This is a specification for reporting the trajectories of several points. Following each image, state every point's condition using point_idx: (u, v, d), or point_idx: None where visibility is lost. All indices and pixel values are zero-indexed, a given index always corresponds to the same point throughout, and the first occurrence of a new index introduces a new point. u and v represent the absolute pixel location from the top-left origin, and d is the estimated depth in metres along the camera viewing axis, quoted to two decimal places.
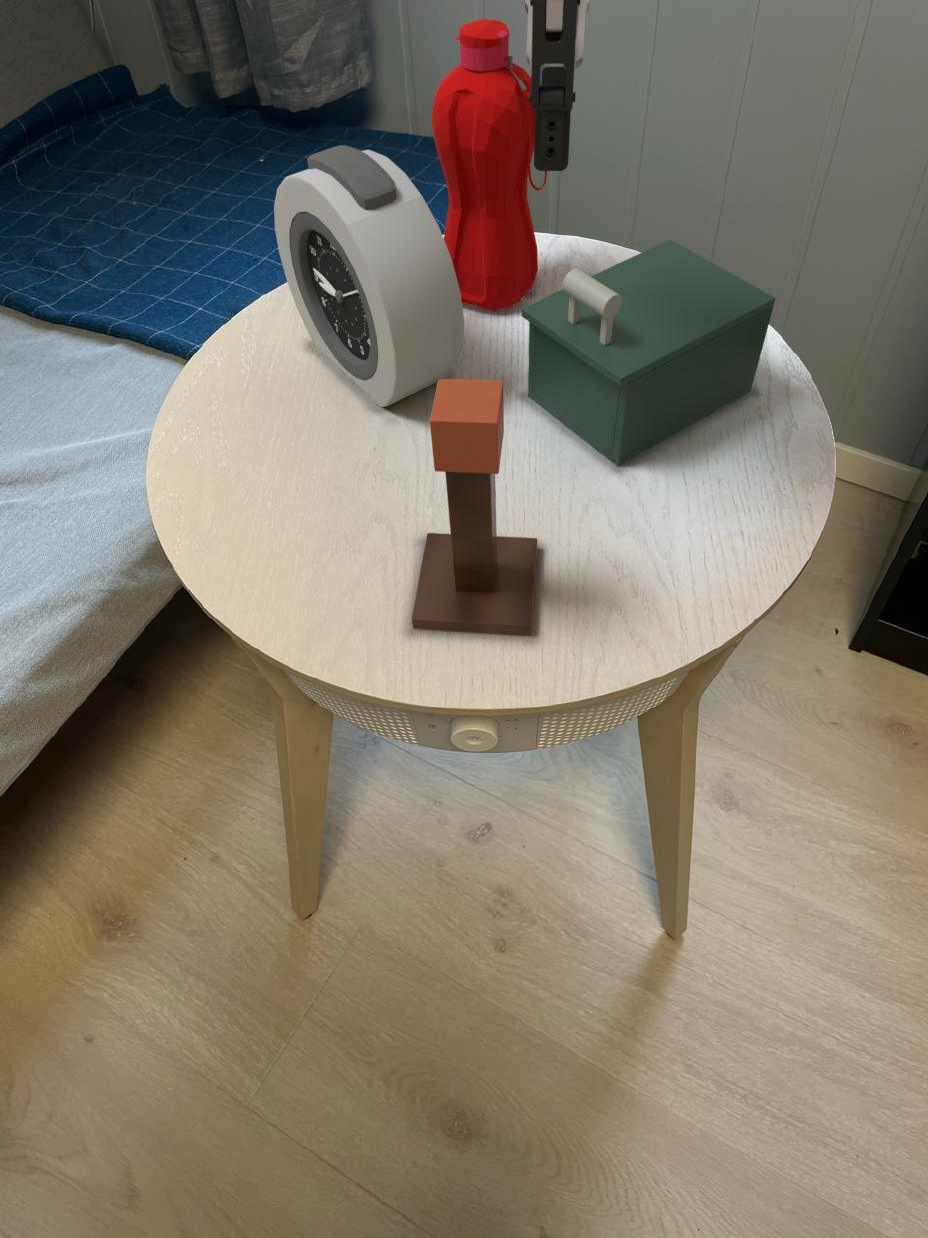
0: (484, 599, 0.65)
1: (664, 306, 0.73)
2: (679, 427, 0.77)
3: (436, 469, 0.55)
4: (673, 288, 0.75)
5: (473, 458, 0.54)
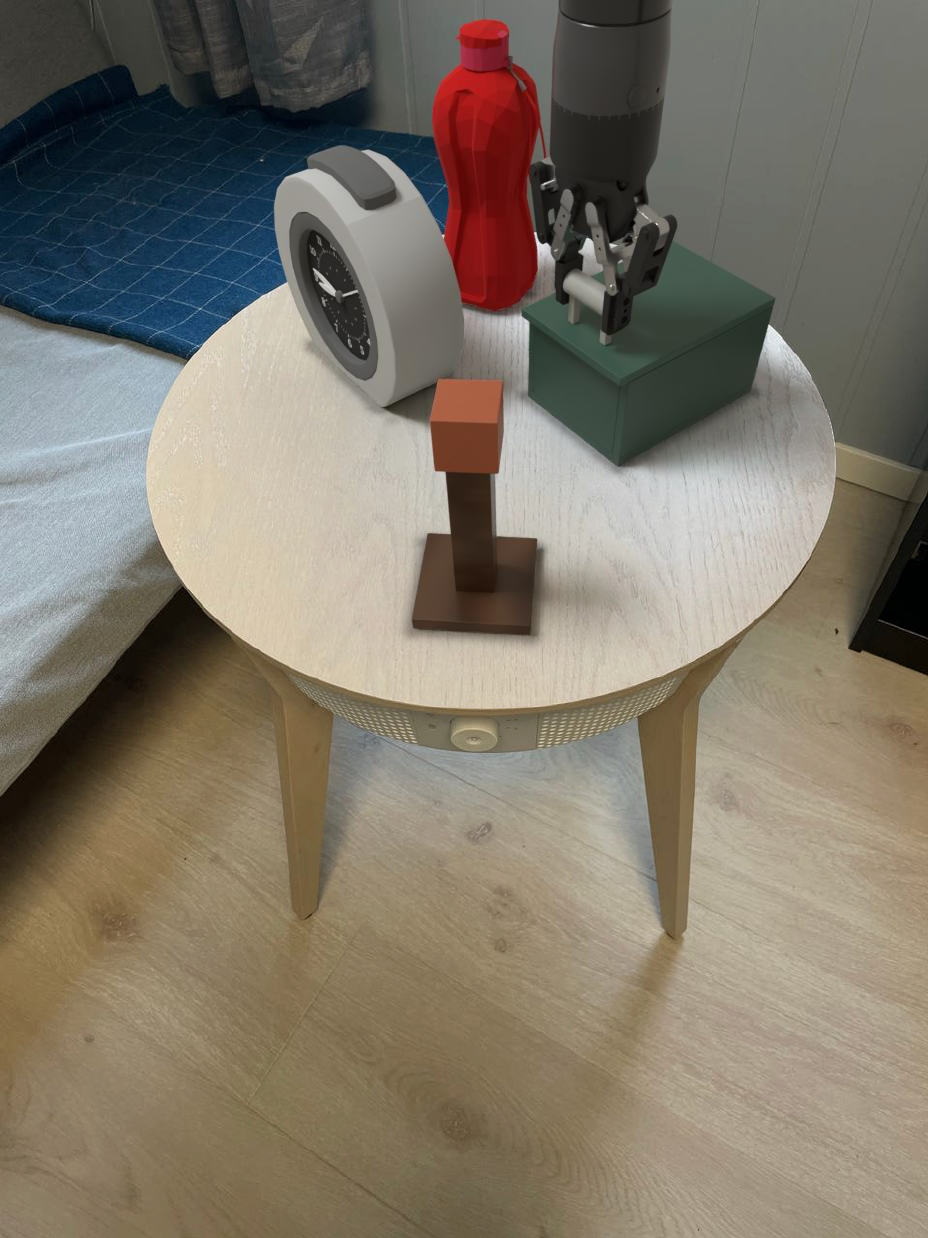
0: (484, 599, 0.65)
1: (664, 306, 0.73)
2: (679, 427, 0.77)
3: (436, 469, 0.55)
4: (673, 288, 0.75)
5: (473, 458, 0.54)
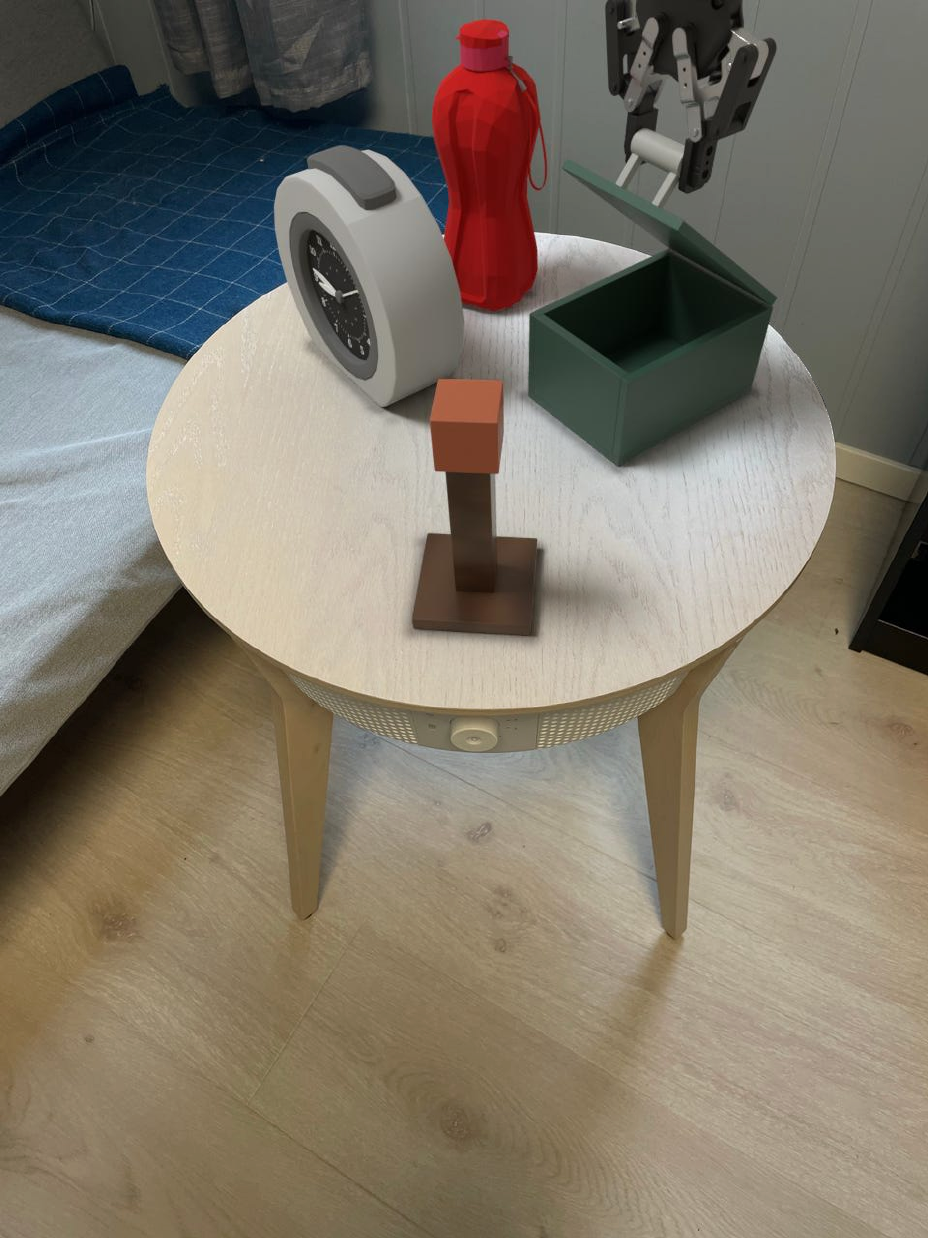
0: (484, 599, 0.65)
1: None
2: (679, 427, 0.77)
3: (436, 469, 0.55)
4: None
5: (473, 458, 0.54)
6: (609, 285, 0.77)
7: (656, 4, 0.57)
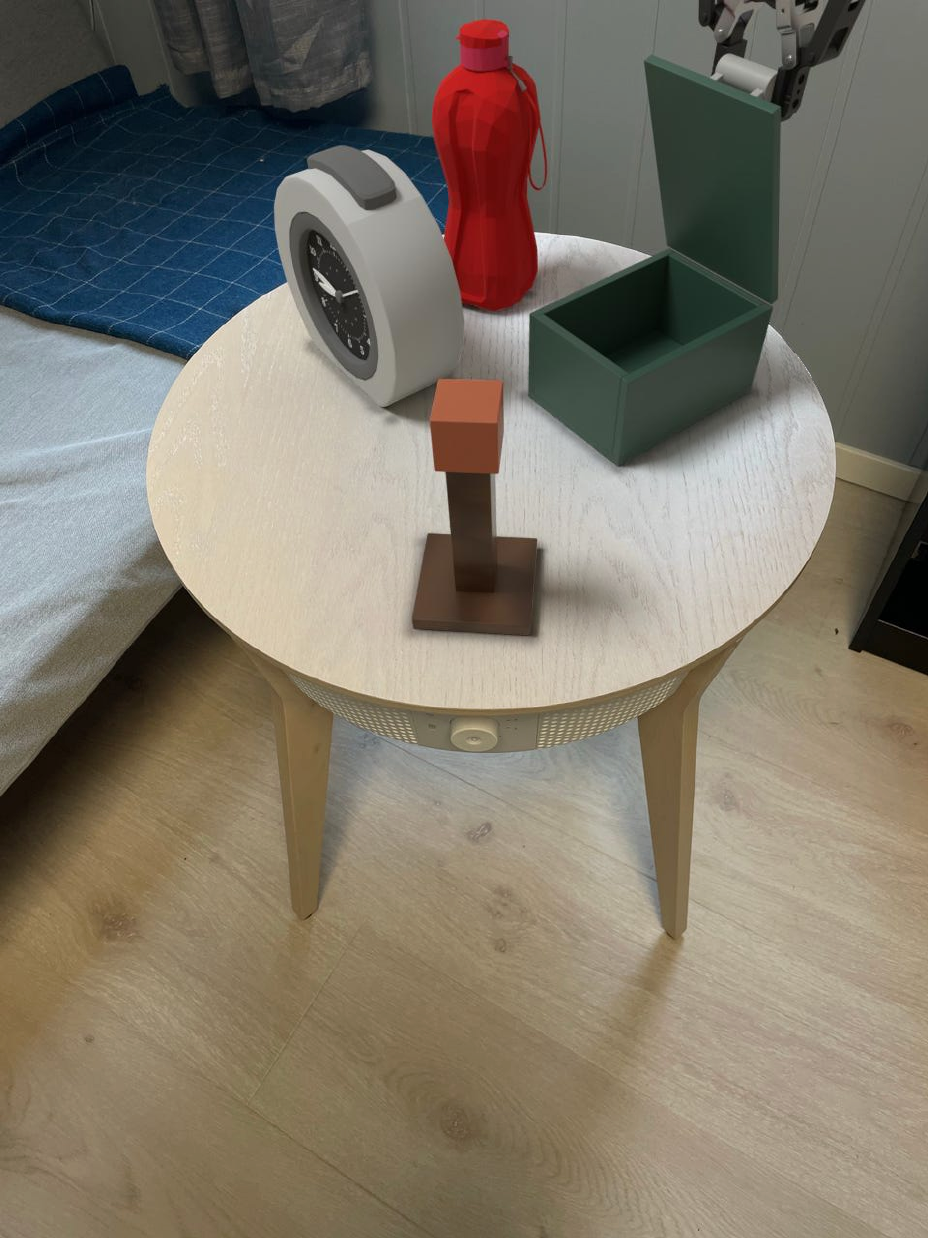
0: (484, 599, 0.65)
1: None
2: (679, 427, 0.77)
3: (436, 469, 0.55)
4: None
5: (473, 458, 0.54)
6: (609, 285, 0.77)
7: None
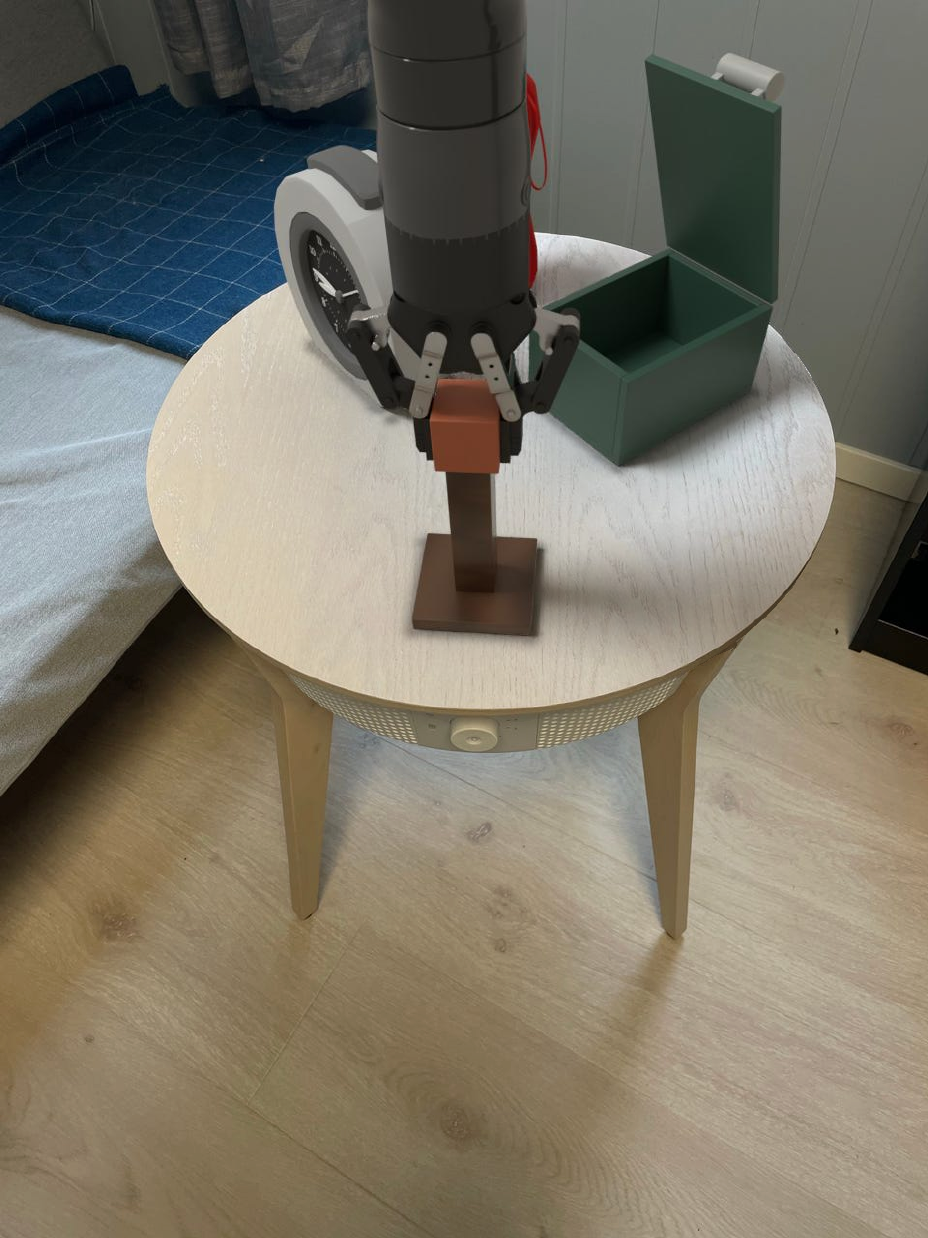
0: (484, 599, 0.65)
1: None
2: (679, 427, 0.77)
3: (436, 469, 0.55)
4: None
5: (473, 458, 0.54)
6: (609, 285, 0.77)
7: (425, 315, 0.47)
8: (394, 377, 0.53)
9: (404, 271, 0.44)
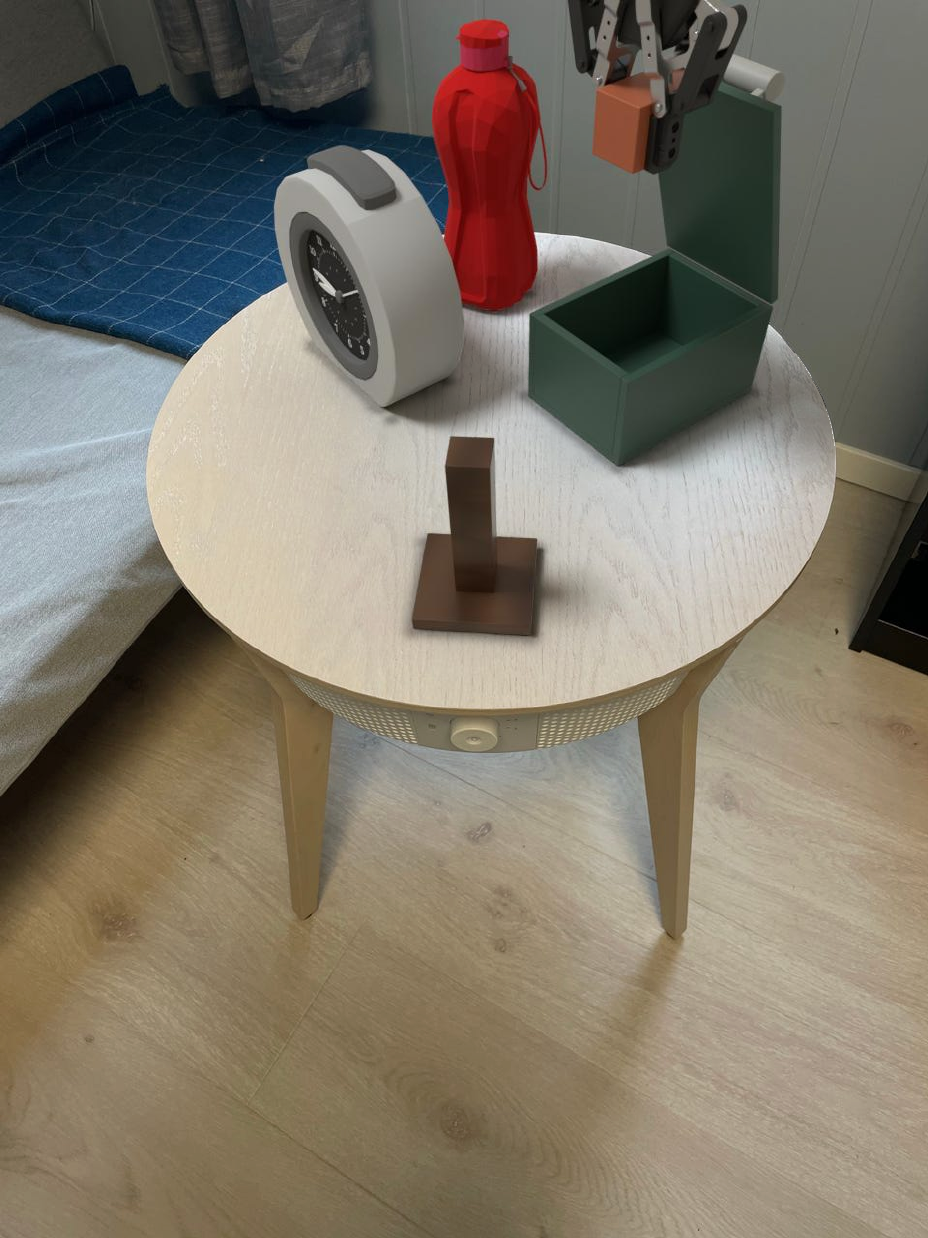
0: (484, 599, 0.65)
1: None
2: (679, 427, 0.77)
3: (593, 151, 0.60)
4: None
5: (618, 147, 0.58)
6: (609, 285, 0.77)
7: None
8: None
9: None
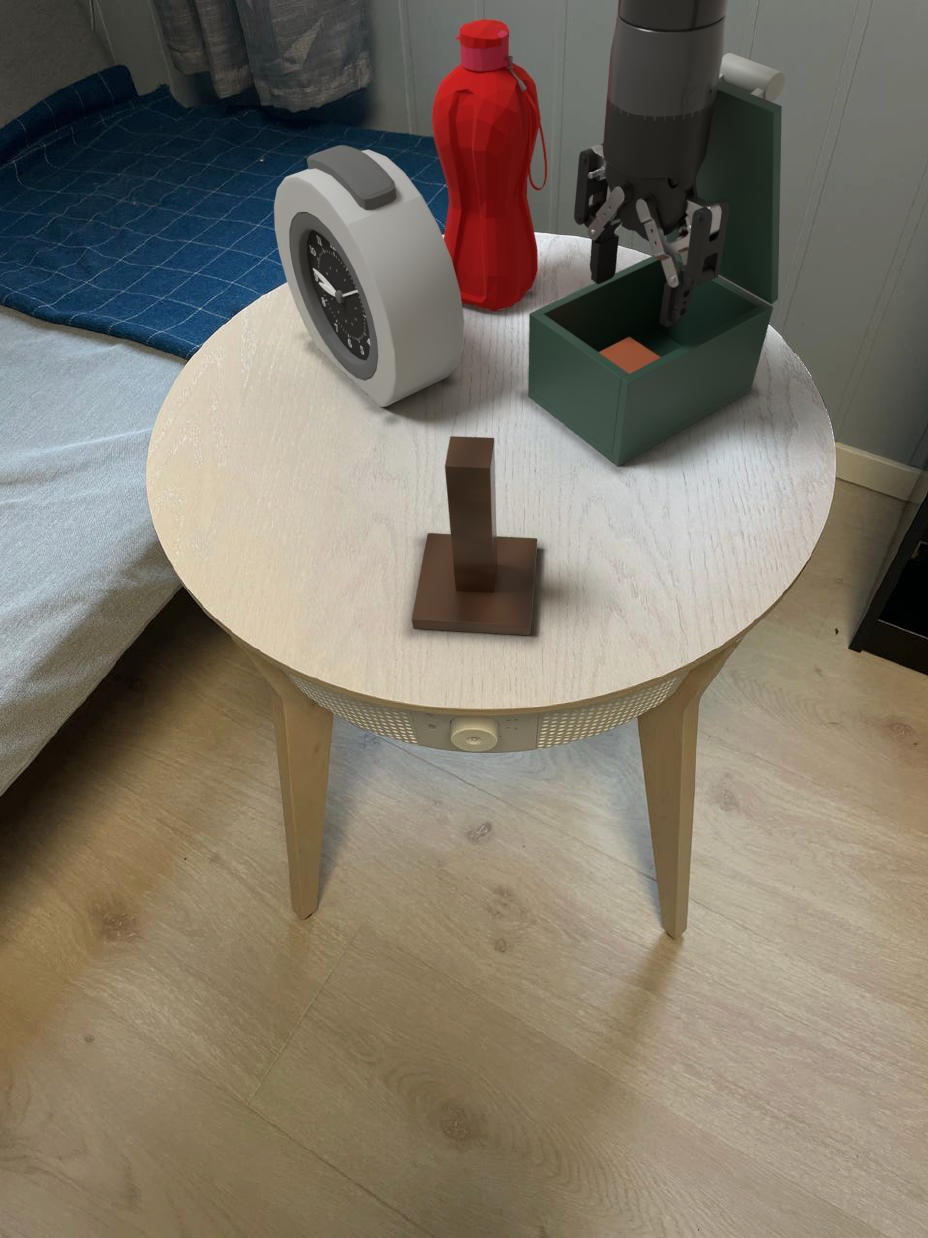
0: (484, 599, 0.65)
1: None
2: (679, 427, 0.77)
3: None
4: None
5: None
6: (609, 285, 0.77)
7: (622, 174, 0.65)
8: (596, 206, 0.71)
9: (604, 128, 0.62)
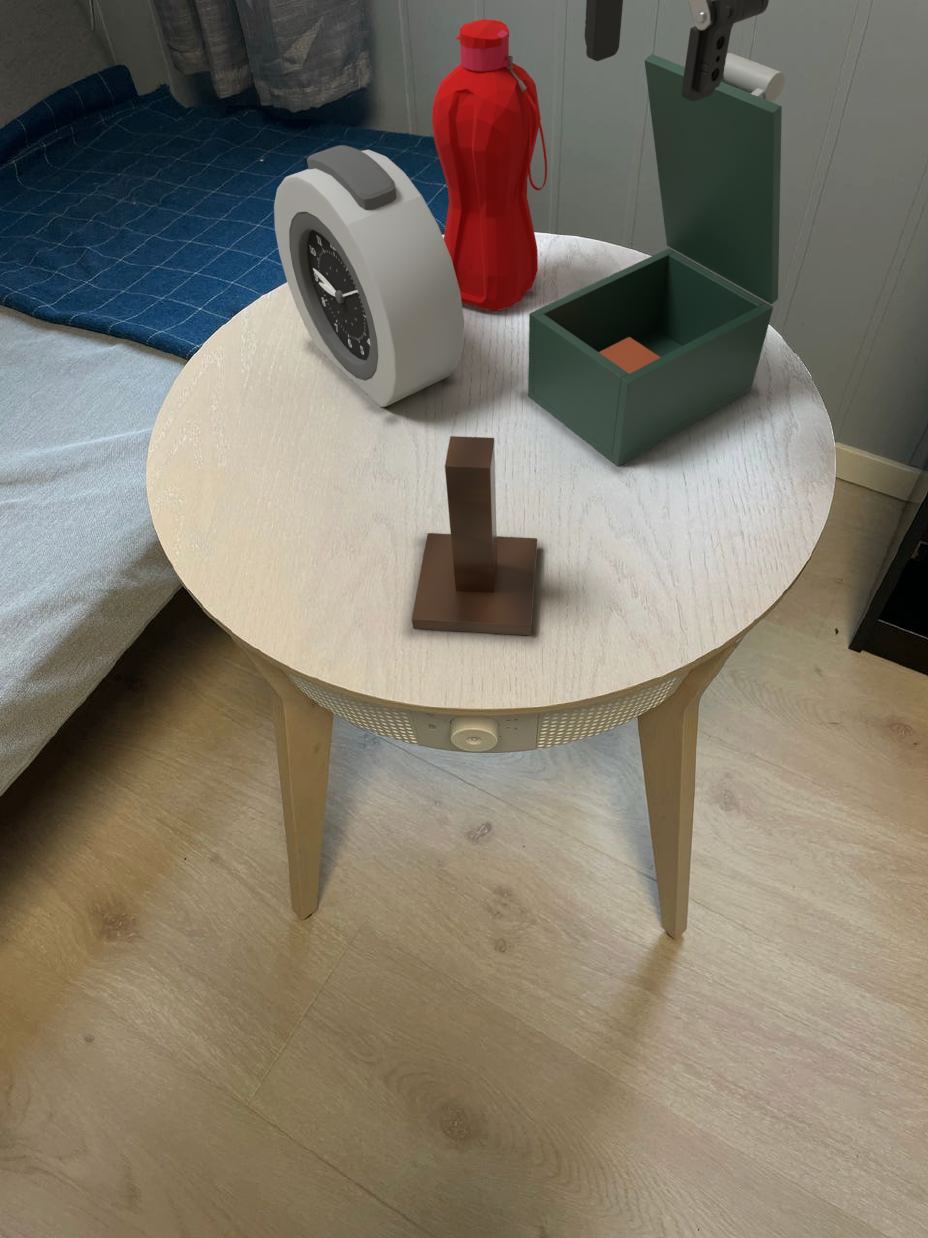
0: (484, 599, 0.65)
1: None
2: (679, 427, 0.77)
3: None
4: None
5: None
6: (609, 285, 0.77)
7: None
8: None
9: None
